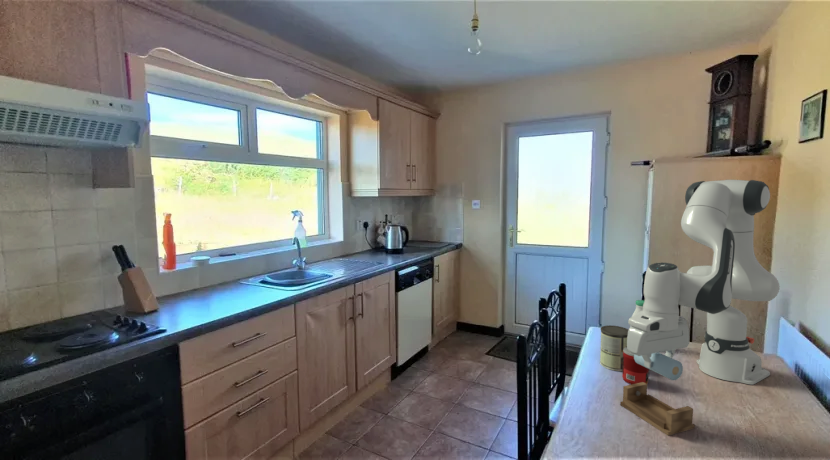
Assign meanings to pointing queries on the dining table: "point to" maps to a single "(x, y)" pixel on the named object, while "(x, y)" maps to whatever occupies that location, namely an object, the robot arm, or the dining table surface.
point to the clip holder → (656, 410)
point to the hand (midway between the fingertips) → (657, 365)
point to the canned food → (633, 369)
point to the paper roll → (663, 365)
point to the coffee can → (613, 347)
